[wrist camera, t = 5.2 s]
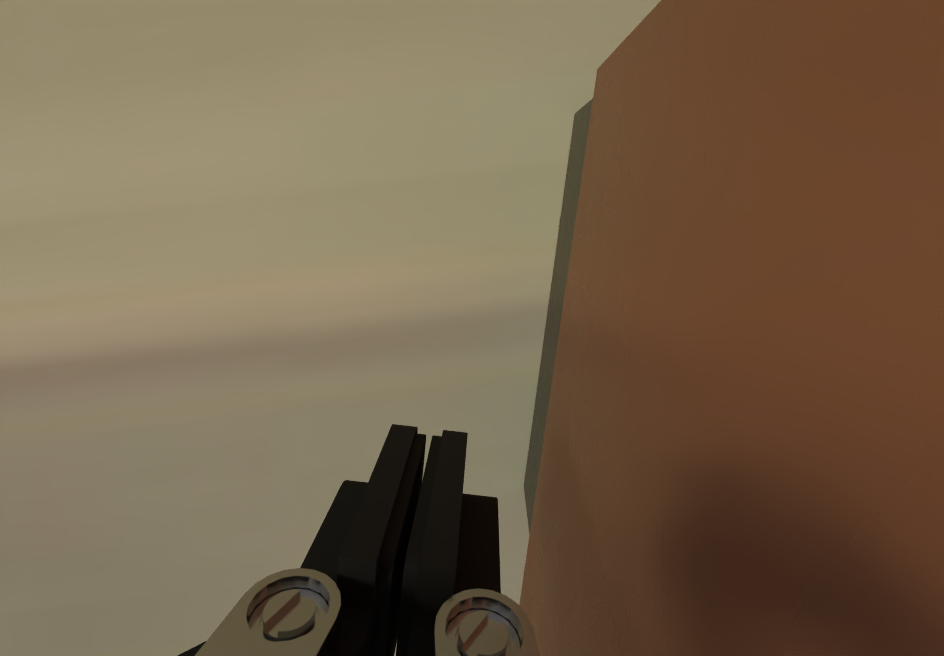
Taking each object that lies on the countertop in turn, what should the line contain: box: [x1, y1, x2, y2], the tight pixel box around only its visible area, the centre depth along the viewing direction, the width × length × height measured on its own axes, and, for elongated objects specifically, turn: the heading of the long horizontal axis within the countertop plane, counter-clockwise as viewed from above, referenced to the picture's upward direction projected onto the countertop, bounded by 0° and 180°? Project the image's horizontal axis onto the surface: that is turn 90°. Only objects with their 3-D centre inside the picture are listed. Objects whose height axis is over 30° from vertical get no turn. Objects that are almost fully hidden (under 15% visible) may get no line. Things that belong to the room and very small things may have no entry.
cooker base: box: [524, 99, 593, 534], centre depth 20 cm, size 25×17×10 cm
